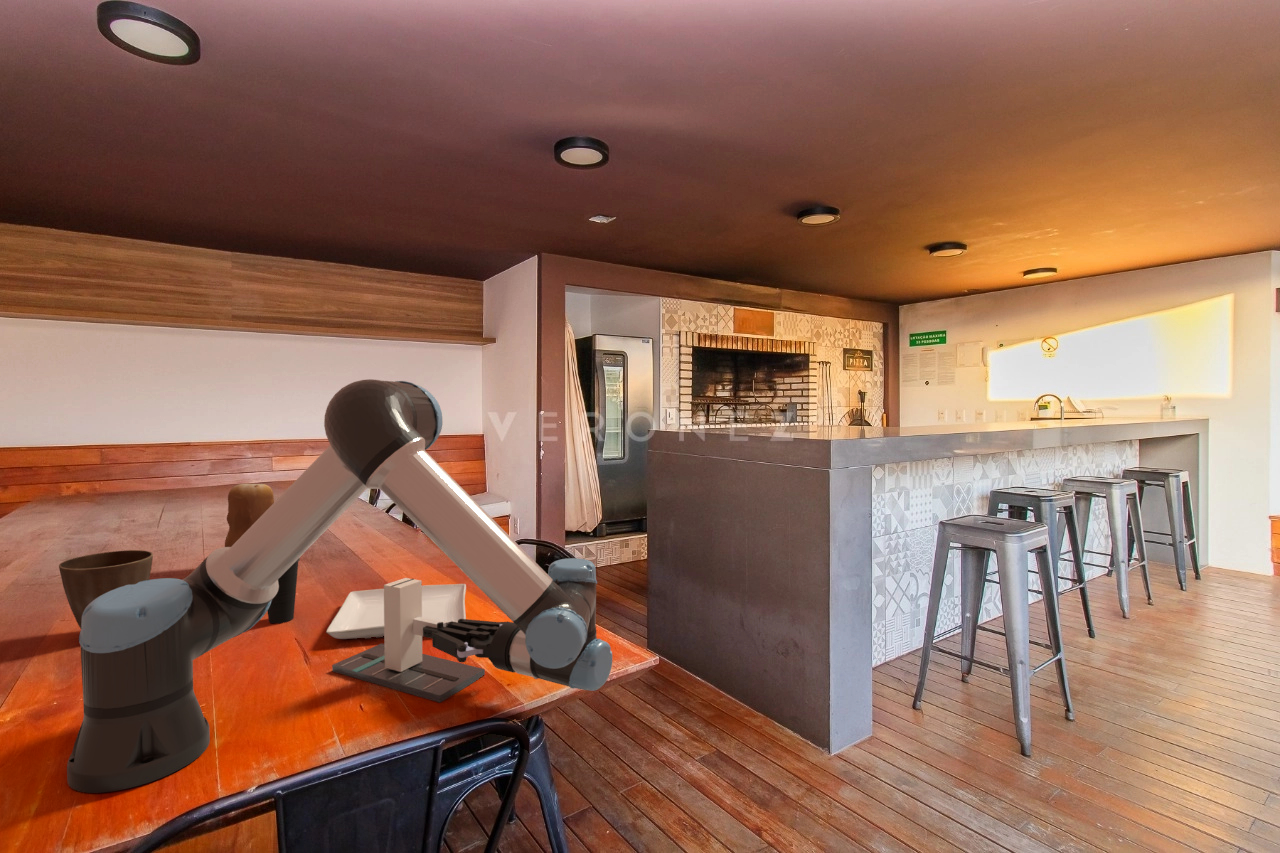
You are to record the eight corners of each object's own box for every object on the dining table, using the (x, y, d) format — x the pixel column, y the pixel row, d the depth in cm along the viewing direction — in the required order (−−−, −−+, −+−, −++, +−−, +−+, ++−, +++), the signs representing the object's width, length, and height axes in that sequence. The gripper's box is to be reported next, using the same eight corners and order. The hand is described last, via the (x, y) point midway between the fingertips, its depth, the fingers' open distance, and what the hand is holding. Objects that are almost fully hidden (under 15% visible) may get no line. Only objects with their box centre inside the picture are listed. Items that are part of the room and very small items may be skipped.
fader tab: (422, 661, 112) (421, 580, 112) (401, 671, 108) (400, 587, 107) (406, 657, 114) (405, 577, 113) (384, 667, 109) (383, 584, 109)
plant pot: (172, 624, 134) (170, 552, 133) (95, 651, 119) (93, 571, 119) (122, 618, 138) (120, 548, 137) (42, 643, 123) (39, 565, 123)
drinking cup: (282, 627, 132) (281, 536, 132) (253, 624, 134) (251, 534, 133) (308, 615, 140) (307, 529, 139) (280, 612, 141) (278, 527, 141)
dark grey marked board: (484, 675, 110) (484, 668, 110) (440, 702, 100) (439, 694, 100) (381, 649, 121) (381, 642, 121) (332, 671, 111) (332, 664, 111)
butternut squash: (276, 559, 189) (274, 479, 188) (284, 568, 179) (282, 483, 178) (222, 566, 180) (220, 482, 179) (227, 576, 170) (225, 487, 169)
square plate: (324, 649, 122) (324, 630, 122) (350, 605, 148) (350, 589, 148) (465, 636, 129) (465, 618, 129) (466, 596, 155) (466, 581, 155)
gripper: (496, 688, 94) (387, 659, 105) (545, 656, 106) (442, 633, 116) (496, 640, 94) (386, 616, 104) (544, 614, 106) (442, 594, 116)
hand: (416, 625), depth 110 cm, fingers closed
